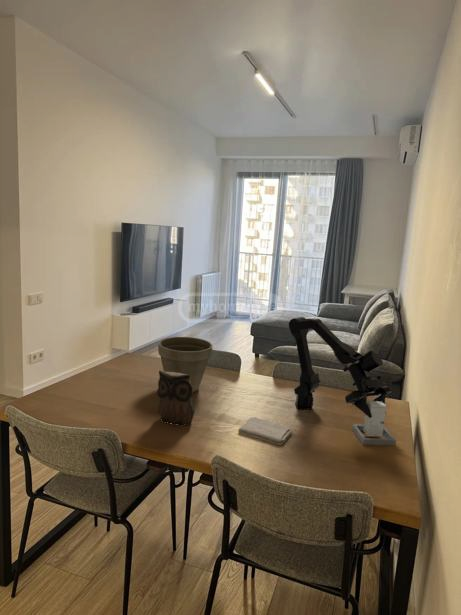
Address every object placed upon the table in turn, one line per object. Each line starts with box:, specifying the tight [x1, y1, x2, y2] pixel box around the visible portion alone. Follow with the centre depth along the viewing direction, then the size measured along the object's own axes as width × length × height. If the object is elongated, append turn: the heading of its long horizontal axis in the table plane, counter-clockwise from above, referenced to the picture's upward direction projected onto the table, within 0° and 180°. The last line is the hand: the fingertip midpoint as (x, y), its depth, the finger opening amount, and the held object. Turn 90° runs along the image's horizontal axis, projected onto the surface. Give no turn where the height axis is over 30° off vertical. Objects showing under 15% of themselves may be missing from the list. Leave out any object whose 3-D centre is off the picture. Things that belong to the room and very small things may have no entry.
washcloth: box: [237, 416, 293, 446], centre depth 158 cm, size 12×18×3 cm, turn 64°
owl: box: [157, 370, 195, 426], centre depth 162 cm, size 13×13×20 cm
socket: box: [351, 423, 397, 446], centre depth 159 cm, size 12×12×2 cm
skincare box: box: [363, 400, 387, 437], centre depth 158 cm, size 6×4×12 cm
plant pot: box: [157, 336, 214, 393], centre depth 196 cm, size 25×25×22 cm
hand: (378, 415), depth 157 cm, fingers closed on skincare box, 7 cm apart
